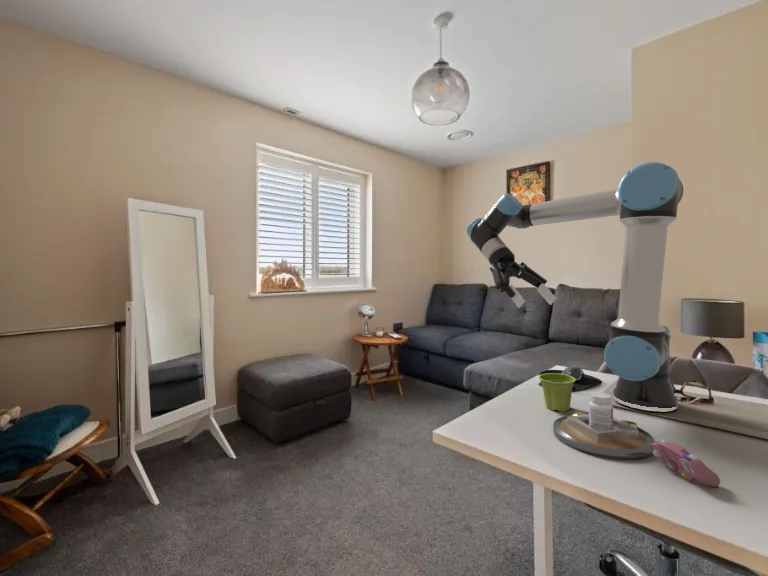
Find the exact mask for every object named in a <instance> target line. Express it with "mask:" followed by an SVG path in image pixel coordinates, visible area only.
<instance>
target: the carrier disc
mask: <svg viewBox="0 0 768 576" xmlns="http://www.w3.org/2000/svg"><path fill="white" fill-rule="evenodd" d="M552 427H553V429H552V430H553V435H554V436H555V438H556V439H557V440H559V441H560V442H561V443H563V444H564V445H566V446H567V447H569V448H571V449H574V450H575V451H579V452H581V453H584V454H588V455H592V456H593V457H600V458H605V459H611V460H617V461H618V460H620V461H621V460H622V461H636V460H643V459H647V458H650V457H651V456H654V454H653V451H652V450H651V448H650V445H651V444H652V443H654V442H656V439H655V438H654V437H653V436H652V435H651V433H649V432H647V431H646V430H644V429H642V428H641V427H638V424H637V423H636V422H634V421H631V420H627V419H626V420H624V419H622V420H620V419H618V418H615V417H613V429H612V430H602V431H598V430H596V429H594V428H593V427H591V426H589V413H588V414H587V413H585V412H582V411H573V412H572V413H571V415H563V416H561V417H559V418H557V419H555V420H554V422H553V425H552Z"/></svg>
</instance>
